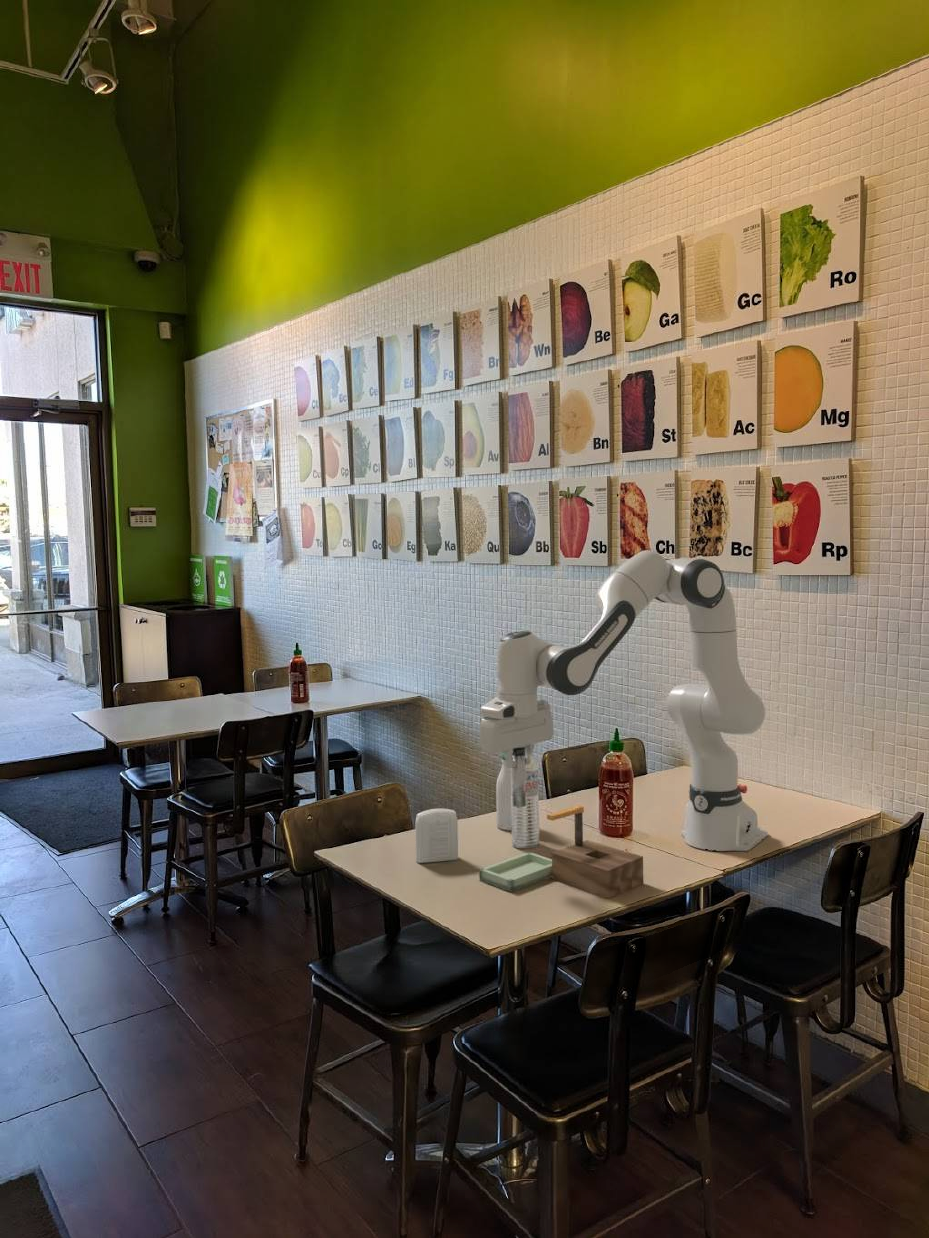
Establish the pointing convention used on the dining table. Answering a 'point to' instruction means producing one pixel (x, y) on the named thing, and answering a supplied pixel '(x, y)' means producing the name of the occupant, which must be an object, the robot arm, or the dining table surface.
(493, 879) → the tray
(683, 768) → the dining table surface
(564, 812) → the bar
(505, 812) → the milk bottle
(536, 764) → the water bottle
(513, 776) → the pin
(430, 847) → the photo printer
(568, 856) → the block
